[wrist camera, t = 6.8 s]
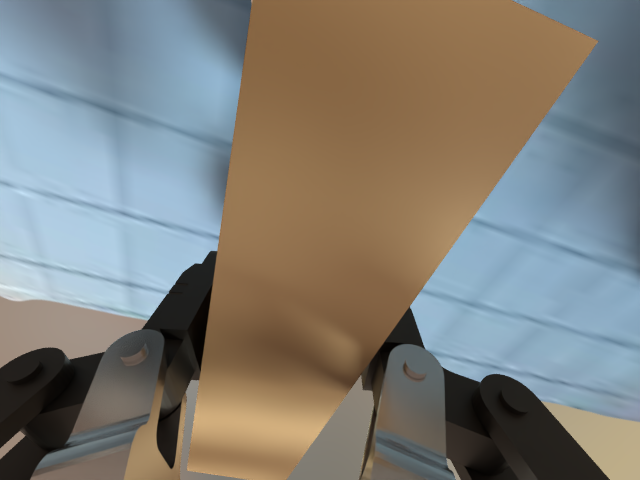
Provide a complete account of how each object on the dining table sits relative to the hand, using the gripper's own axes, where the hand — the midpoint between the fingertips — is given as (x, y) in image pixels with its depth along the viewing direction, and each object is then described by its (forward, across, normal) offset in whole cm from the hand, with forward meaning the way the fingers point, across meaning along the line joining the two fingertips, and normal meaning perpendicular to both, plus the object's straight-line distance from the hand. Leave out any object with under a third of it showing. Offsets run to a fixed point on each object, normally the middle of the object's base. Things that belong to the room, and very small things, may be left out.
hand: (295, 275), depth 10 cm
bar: (+1, 0, 0) cm, 1 cm away
